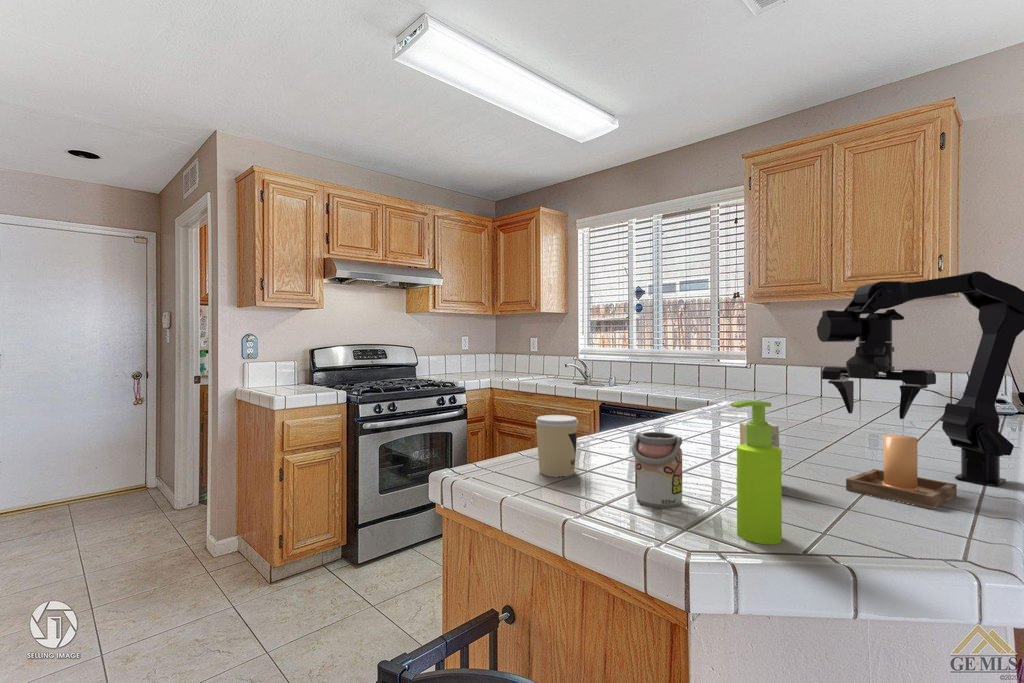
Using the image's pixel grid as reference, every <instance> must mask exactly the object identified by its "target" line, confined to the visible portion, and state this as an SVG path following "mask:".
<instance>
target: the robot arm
mask: <svg viewBox="0 0 1024 683" xmlns="http://www.w3.org/2000/svg"><path fill="white" fill-rule="evenodd" d="M957 293H960V294H962V295H963V296H964V297H965V299H966V300H967V302H968V303H969V305H971V306H972V307H974V308H976V309H977V310H978V311H979V312H978V318H977V319H978V320H977V321H978V323H979V324H980V328H981V331H982V334H981V338H980V340H979V344H978V348H977V350H976V354H975V356H974V361H973V363H972V366H971V370H970V373H969V376H968V380H967V382H966V385H965V389H964V392H963V395H962V397H961V398H960V399H959V400H958V401H957V402H956V403H952V402H947V403H946V404H945V406H944V412H943V415H942V417H941V418H940V419H939V421H940V422H942V426H941V428H942V431H943V432H944V433H945V436H947V437H948V439H949V441H950V444H951V446H952V447H955V448H956V447H957V448H960V453H961V454H960V455H961V456H960V458H961V459H960V465H961V466H960V473H959V474H957V475H954V479H956V480H960V481H967V482H971V483H975V484H983V485H986V486H987V485H989V486H992V487H993V486H994V487H999V486H1001V485H1002V484H1004V483H1006V481H1007V479H1006V478H1002V477H1000V476H1001V474H1000V472H1001V470H1000V469H1001V466H1000V465H1001V463H1000V462H1001V460H1000V459H1001V457H1004V456H1007V457H1008V456H1011V455H1012V453H1013V451H1014V446H1015V445H1014V444H1013V443H1012V442H1011V441H1010V440H1008V439H1007V438H1006V437H1005V436H1004V435H1003V434H1002V433H1000V432H999V429H1000V423H1001V422H1000V416H999V413H998V411H997V407H996V401H997V398H998V395H999V392H1000V388H1001V386H1002V384H1003V380H1004V377H1005V373H1006V370H1007V368H1008V364H1009V361H1010V358H1011V353H1012V351H1013V348H1014V345H1015V342H1016V339H1017V337H1018V336H1019V335H1020V334H1022V332H1023V331H1024V290H1022V289H1021V288H1019V287H1018V286H1016V285H1014V284H1011V283H1008V282H1006V281H1002V280H1001V279H1000V280H999V279H998V278H997V279H996V278H995V277H993V276H991V275H990V274H988V273H986V272H985V271H981V270H978V271H977V270H975V271H970V272H964V273H961V274H956V275H950V276H944V277H940V278H939V277H938V278H937V277H936V278H933V279H931V278H930V279H925V280H919V281H908V282H907V281H898V280H897V281H895V280H893V281H891V280H890V281H889V280H881V281H877V282H872V283H867V284H863V285H860V286H858V287H857V288H856V290H855V291H854V293H853V299H852V300H851V301H849V303H848V304H847V306H846V307H845V308H844V309H843V310H834V309H827V310H822V312H821V313H822V315H821V317H820V319H819V321H818V324H817V325H816V333H817V337H818V340H819V341H821V342H822V343H853V342H855V341H856V339H858V346H856V347H855V353H854V356H852V357H850V358H849V359H848V360H846V362H845V366H838V365H835V366H833V365H832V366H825V367H823V368H822V370H821V373H820V374H821V375H820V376H821V380H828V381H827V383H828V384H832V385H833V386H834V387H835V388H836V389H837V392H839V395H840V396H841V399H842V400H843V404H844V405H845V408H846V411H847V413H848V414H853V413H854V412H853V411H854V406H855V405H854V400H855V399H854V390H855V389H854V387H855V386H854V385H855V384H854V380H849V379H864V380H881V381H883V380H885V381H898V382H899V381H901V382H903V383H904V384H901V385H899V389H900V399H899V400H900V401H899V409H898V410H899V411H898V413H899V419H900V420H904V419H905V418H906V415H907V413H908V412H909V409H910V407H911V405H912V403H913V402H914V400H915V399H916V397H917V395H918V394H919V392H921V390H922V389H927V388H928V386H931V385H936V384H937V375H936V372H935V371H934V370H932V369H917V368H916V369H915V368H914V369H913V368H909V369H908V368H907V369H902V371H895V366H894V365H893V353H894V352H895V347H894V346H893V321H903V320H904V319H905V316H904V315H902V314H900V313H899V312H898V311H897V310H896V309H895V308H893V307H896V306H900V305H903V304H905V303H908V302H910V301H913V300H919V299H923V298H929V297H931V298H932V297H937V296H938V297H939V296H945V295H951V294H957ZM891 308H892V309H891ZM879 310H885V311H884V312H878V311H879ZM861 315H866V317H861Z"/></svg>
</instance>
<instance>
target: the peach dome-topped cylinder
mask: <svg viewBox="0 0 1024 683" xmlns="http://www.w3.org/2000/svg"><path fill="white" fill-rule="evenodd" d="M883 471H884V481H883V482H882V485H884V486H889V487H894V488H899V489H904V490H909V491H914V492H918V493H919V487H918V477H919V476H918V438H917V437H915V436H910V435H902V434H883Z"/></svg>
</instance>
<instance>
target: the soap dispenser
mask: <svg viewBox="0 0 1024 683" xmlns="http://www.w3.org/2000/svg"><path fill="white" fill-rule="evenodd" d="M729 405H730V406H731V407H733V408H737V409H741V408H745V407H746V408H747V407H752V408H751V414H752V415H751V417H752V419H751V420H749V421H748V422H745V423H746V444H740V443H739V444H737V445H736V534H737V536H738V537H740V539H743V540H745V541H748V542H749V543H755V544H760V545H776V544H777V545H778V544H780V543H781V542H782V540H783V539H782V538H783V535H782V534H783V533H782V531H783V530H782V526H783V524H782V516H783V515H782V514H783V513H782V508H783V507H782V506H783V505H782V504H783V503H782V502H783V501H782V499H783V498H782V495H783V494H782V493H783V492H782V488H783V486H782V482H783V481H782V479H783V478H782V476H783V475H782V472H783V471H782V449H781V448H780V447H779V448H777V447H774V446H772V426H771V424H768V423H769V422H768V421H766V407H767V408H772V402H768V401H762V400H750V399H747V400H746V399H745V400H738V401H734V402H731V403H730V404H729Z"/></svg>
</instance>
